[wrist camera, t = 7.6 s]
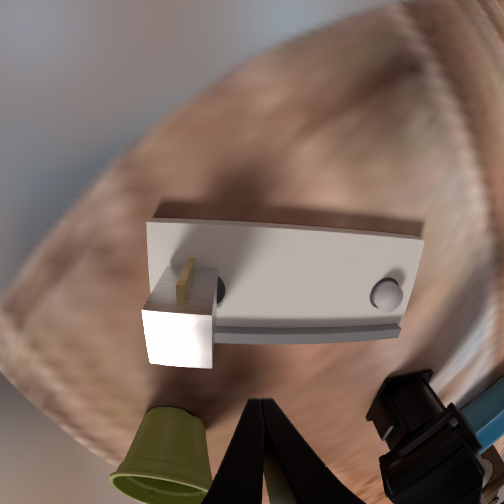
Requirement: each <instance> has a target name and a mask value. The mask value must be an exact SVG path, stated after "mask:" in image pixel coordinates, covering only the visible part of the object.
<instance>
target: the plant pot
mask: <svg viewBox="0 0 504 504" xmlns="http://www.w3.org/2000/svg"><path fill="white" fill-rule="evenodd" d="M109 482H110V484H111V485H112V486H113V487H114V488H115V489H116V490H118V491H119V492H121V493H122V494H124V495H126V496H128V497H130V498H132V499H134V500H137V501H140V502H142V503H145V504H200V503H201V502H202V500H203V499H204V497H205V495H206V494H207V492H208V490H209V488H210V486H211V484H212V482H213V480H212V475H211V470H210V463H209V457H208V450H207V441H206V433H205V426H204V424H203V422H202V421H201V420H200V419H199V418H198V417H194V416H192V415H190V414H188V413H187V412H186V411H185V410H182V409H178V408H173V407H157V408H153V409H151V410H150V411H149V412H148V413H146V414H145V415H144V417H143V420H142V422H141V424H140V426H139V429H138V431H137V433H136V436H135V438H134V440H133V442H132V444H131V447H130V449H129V451H128V453H127V455H126V458H125V460H124V462H122V463H121V464H120V465H119V467H118V469H117V471H116V472H114V473H112V474H111V475H110V477H109Z"/></svg>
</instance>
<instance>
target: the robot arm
mask: <svg viewBox="0 0 504 504" xmlns="http://www.w3.org/2000/svg"><path fill="white" fill-rule="evenodd" d="M433 373H434V372H433V371H432V370H431V369H430V370H425V371H421V372H417V373H412V374H407V375H402V376H397V377H392V378H388V379H386V380H385V381H384V383H383V385H382V387H381V389H380V391H379V393H378V395H377V397H376V399H375V401H374V403H373V405H372V406H371V408H370V410H369V412H368V414H367V416H366V420H367V421H373V423H374V425H375V427H376V429H377V432H378V434H379V436H380V438H381V440H382V441H386V443H387V445H388V447H389V449H390V452H388V453H387V454H385V455H382V456H380V457H379V462H380V470H381V475H382V480H383V486H384V491H385V495H386V497H387V498H389V499H390V500H391V502H392V503H393V504H487V502H486V500H485V498H484V497H483V495H482V487H483V478H484V468H485V463H484V461H483V459H482V457H481V456H480V454H479V452H480V451H481V450H482V449H483V448H484V447H483V445H482V443H481V442H480V440H479V438H478V436H477V434H476V433H475V431H474V429H473V428H472V426H471V424H470V423H469V421H468V420H467V419H466V417H465V416H464V415H463V413H462V412H461V411H460V410H459V409H458V408H457V407H456V406H455V405H454V404H453V403H452V402H451V403H450V404H449V405H448V407H447V408H445V406H444V405H443V403H442V402H441V401H440V399H439V398H438V396H437V395H436V393H435V392H434V391H433V389H432V388H431V386H430V385H429V384H428V383H429V381H430V379H431V377H432V376H433ZM456 422H458V424H457V425H456V426H455V427H453V425H454V424H455V423H456ZM325 466H326V465H325V464H324V463H323V461H322V460H321V459H320V458H319V457H318V456H317V454H316V453H315V452H314V451H313V449H312V448H311V447H310V446H309V445H308V443H307V442H306V441H305V440H304V438H303V437H302V436H301V435H300V433H299V432H298V431H297V429H296V428H295V427H294V426H293V424H292V423H291V422H290V420H289V419H288V418H287V417H286V415H285V414H284V413H283V411H282V410H281V409H280V407H279V406H278V405H277V403H276V402H275V401H274V399H272V398H261V399H259V398H249V399H248V400H247V402H246V405H245V407H244V410H243V412H242V415H241V417H240V420H239V422H238V425H237V427H236V430H235V432H234V434H233V437H232V439H231V441H230V444H229V446H228V449H227V451H226V453H225V456H224V458H223V460H222V462H221V465H220V467H219V469H218V471H217V474H216V476H215V478H214V480H213V482H212V484H211V486H210V488H209V490H208V492H207V494H206V495H205V497H204V499H203V500H202V502H201V503H200V504H262V488H263V472H264V477H265V482H266V486H267V491H268V496H269V500H270V504H366V503H365V502H363V501H362V500H361V499H360V498H358V497H357V496H356V495H355V494H354V493H352V492H351V491H350V490H349V489H348V488H347V487H346V486H344V485H343V484H342V483H341V482H340V481H339V480H338V479H337V477H336V476H335V475H334V474H333V473H332V472H331V471H330V470H329V468H328V467H325ZM500 504H504V501H503V502H502V503H500Z"/></svg>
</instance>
